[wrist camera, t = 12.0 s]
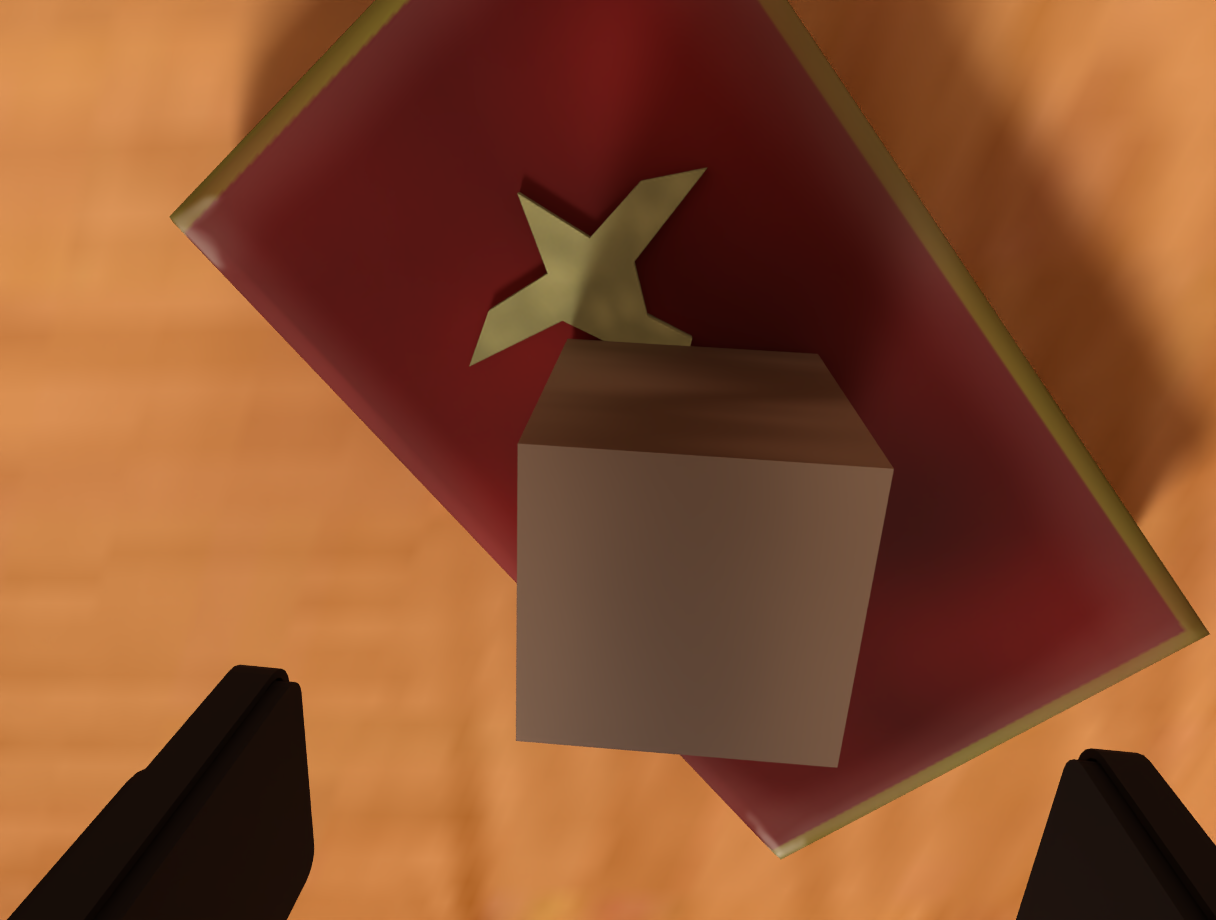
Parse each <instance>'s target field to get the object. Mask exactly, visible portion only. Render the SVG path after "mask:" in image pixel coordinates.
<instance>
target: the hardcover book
mask: <svg viewBox="0 0 1216 920" xmlns="http://www.w3.org/2000/svg"><path fill="white" fill-rule="evenodd" d="M170 218H171V220H172V221H173V223H174V224H175V225H176V226H177V227H178V228H179V229H180V230H181V231H182V232H183V233H184V234H185V235H186V236H187V237H188V238H189V239H190V240H191V241H192V243H193V244H194V245H195V246H196V247H197V248H198V249H199V250H200V251H201V252H202V253H203V254H204V255H205V256H206V257H207V258H208V259H209V260H210V261H211V263H212V264H213V265H214V266H215V267H216V268H217V269H218V270H219V271H220V272H221V273H222V274H223V275H224V276H225V277H226V278H227V279H228V280H229V281H230V282H231V284H232V285H233V286H234V287H235V288H236V289H237V290H238V291H239V292H240V293H241V294H242V295H243V296H244V297H245V298H246V299H247V300H248V301H249V302H250V303H251V305H252V306H253V307H254V308H255V309H256V310H257V311H258V312H259V313H260V314H261V315H262V316H263V317H264V318H265V319H266V320H267V321H268V322H269V323H270V324H271V326H272V327H273V328H274V329H275V330H276V331H277V332H278V333H279V334H280V335H281V336H282V337H283V338H284V339H285V340H286V341H287V342H288V343H289V344H290V346H291V347H292V348H293V349H294V350H295V351H296V352H297V353H298V354H299V355H300V356H301V357H302V358H303V359H304V360H305V361H306V362H307V363H308V364H309V365H310V367H311V368H312V369H313V370H314V371H315V372H316V373H317V374H318V375H319V376H320V377H321V378H322V379H323V380H324V381H325V382H326V383H327V384H328V385H329V386H330V388H331V389H332V390H333V391H334V392H335V393H336V394H337V395H338V396H339V397H340V398H341V399H342V400H343V401H344V402H345V403H346V404H347V405H348V406H349V408H350V409H351V410H352V411H353V412H354V413H355V414H356V415H357V416H358V417H359V418H360V419H361V420H362V421H363V422H364V423H365V424H366V425H367V426H368V427H369V429H370V430H371V431H372V432H373V433H374V434H375V435H376V436H377V437H378V438H379V439H380V440H381V441H382V442H383V443H384V444H385V445H386V446H387V447H388V448H389V450H390V451H391V452H392V453H393V454H394V455H395V456H396V457H397V458H398V459H399V460H400V461H401V462H402V463H403V464H404V465H405V466H406V467H407V468H408V469H409V471H410V472H411V473H412V474H413V475H414V476H415V477H416V478H417V479H418V480H419V481H420V482H421V483H422V484H423V485H424V486H425V487H426V488H427V489H428V491H429V492H430V493H431V494H432V495H433V496H434V497H435V498H436V499H437V500H438V501H439V502H440V503H441V504H442V505H443V506H444V507H445V508H446V509H447V510H448V512H449V513H450V514H451V515H452V516H453V517H454V518H455V519H456V520H457V521H458V522H459V523H460V524H461V525H462V526H463V527H464V528H465V529H466V530H467V531H468V533H469V534H470V535H471V536H472V537H473V538H474V539H475V540H476V541H477V542H478V543H479V544H480V545H481V546H482V547H483V548H484V549H485V550H486V551H487V553H488V554H489V555H490V556H491V557H492V558H493V559H494V560H495V561H496V562H497V563H498V564H499V565H500V566H501V567H502V568H503V569H504V570H505V571H506V572H507V574H508V575H509V576H510V577H511V578H512V579H513V580H514V581H515V582H516V583H517V480H518V442H519V440H520V438H521V436H522V433H523V431H524V429H525V427H526V425H527V423H528V421H529V419H530V417H531V415H532V412H533V410H534V408H535V406H536V404H537V402H538V400H539V398H540V396H541V394H542V391H543V389H544V387H545V385H546V383H547V381H548V379H549V377H550V375H551V372H552V370H553V368H554V366H555V364H556V362H557V360H558V358H559V356H560V354H561V351H562V349H563V347H564V345H565V343H566V341H567V339H582V340H599V341H614V342H630V343H647V344H663V345H680V346H697V347H713V348H729V349H745V350H762V351H778V352H794V353H811V354H818V355H819V356H820V358H821V359H822V361H823V362H824V364H825V365H826V367H827V369H828V370H829V372H830V373H831V375H832V376H833V378H834V379H835V381H836V382H837V384H838V385H839V387H840V388H841V390H842V391H843V393H844V394H845V396H846V397H847V399H848V400H849V402H850V403H851V405H852V406H853V408H854V409H855V411H856V412H857V414H858V415H859V417H860V418H861V420H862V421H863V423H864V424H865V426H866V427H867V429H868V430H869V432H870V433H871V435H872V437H873V438H874V440H875V441H876V443H877V444H878V446H879V447H880V449H881V450H882V452H883V453H884V455H885V456H886V458H887V459H888V461H889V462H890V464H891V465H892V467H893V468H894V471H893V476H892V481H891V487H890V492H889V497H888V503H887V508H886V513H885V518H884V524H883V529H882V534H881V540H880V545H879V550H878V555H877V561H876V566H875V571H874V577H873V582H872V587H871V592H870V598H869V603H868V608H867V614H866V619H865V624H864V629H863V635H862V640H861V645H860V651H859V656H858V661H857V666H856V672H855V677H854V682H853V688H852V693H851V698H850V703H849V709H848V714H847V719H846V725H845V730H844V735H843V740H842V746H841V751H840V756H839V762H838V767H837V768H836V767H824V766H812V765H800V764H788V763H776V762H764V761H752V760H740V759H728V758H716V757H704V756H692V755H681V756H682V757H683V758H684V760H685V761H686V762H687V763H688V764H689V765H690V766H691V767H692V768H693V769H694V770H695V771H696V772H697V773H698V774H699V775H700V776H701V777H702V778H703V779H704V781H705V782H706V783H707V784H708V785H709V786H710V787H711V788H712V789H713V790H714V791H715V792H716V793H717V794H718V795H719V796H720V797H721V798H722V799H723V800H724V802H725V803H726V804H727V805H728V806H729V807H730V808H731V809H732V810H733V811H734V812H735V813H736V814H737V815H738V816H739V817H740V818H741V819H742V820H743V821H744V823H745V824H746V825H747V826H748V827H749V828H750V829H751V830H752V831H753V832H754V833H755V834H756V835H757V836H758V837H759V838H760V839H761V840H762V841H763V843H764V844H765V845H766V846H767V847H768V848H769V849H770V850H771V851H772V852H773V853H774V854H775V855H777V856H778V857H779V858H780V859H783V858H785V857H786V856H788V855H790V854H792V853H794V852H796V851H798V850H800V849H802V848H804V847H806V846H807V845H809V844H811V843H813V842H815V841H817V840H819V839H821V838H823V837H825V836H826V835H828V834H830V833H832V832H834V831H836V830H838V829H840V828H842V827H844V826H845V825H847V824H849V823H851V822H853V821H855V820H857V819H859V818H861V817H863V816H865V815H866V814H868V813H870V812H872V811H874V810H876V809H878V808H880V807H882V806H884V805H885V804H887V803H889V802H891V801H893V800H895V799H897V798H899V797H901V796H903V795H905V794H906V793H908V792H910V791H912V790H914V789H916V788H918V787H920V786H922V785H924V784H925V783H927V782H929V781H931V780H933V779H935V778H937V777H939V776H941V775H943V774H944V773H946V772H948V771H950V770H952V769H954V768H956V767H958V766H960V765H962V764H964V763H965V762H967V761H969V760H971V759H973V758H975V757H977V756H979V755H981V754H983V753H984V752H986V751H988V750H990V749H992V748H994V747H996V746H998V745H1000V744H1002V743H1004V742H1005V741H1007V740H1009V739H1011V738H1013V737H1015V736H1017V735H1019V734H1021V733H1023V732H1024V731H1026V730H1028V729H1030V728H1032V727H1034V726H1036V725H1038V724H1040V723H1042V722H1044V721H1045V720H1047V719H1049V718H1051V717H1053V716H1055V715H1057V714H1059V713H1061V712H1063V711H1064V710H1066V709H1068V708H1070V707H1072V706H1074V705H1076V704H1078V703H1080V702H1082V701H1083V700H1085V699H1087V698H1089V697H1091V696H1093V695H1095V694H1097V693H1099V692H1101V691H1103V690H1104V689H1106V688H1108V687H1110V686H1112V685H1114V684H1116V683H1118V682H1120V681H1122V680H1123V679H1125V678H1127V677H1129V676H1131V675H1133V674H1135V673H1137V672H1139V671H1141V670H1143V669H1144V668H1146V667H1148V666H1150V665H1152V664H1154V663H1156V662H1158V661H1160V660H1162V659H1163V658H1165V657H1167V656H1169V655H1171V654H1173V653H1175V652H1177V651H1179V650H1181V649H1182V648H1184V647H1186V646H1188V645H1190V644H1192V643H1194V642H1196V641H1198V640H1200V639H1202V638H1203V637H1205V636H1207V635H1209V632H1208V631H1207V629H1206V628H1205V626H1204V625H1203V623H1202V622H1201V620H1200V619H1199V617H1198V616H1197V614H1196V613H1195V611H1194V610H1193V608H1192V607H1191V605H1190V604H1189V602H1188V601H1187V599H1186V598H1185V596H1184V595H1183V593H1182V592H1181V590H1180V589H1179V587H1178V586H1177V584H1176V583H1175V581H1174V580H1173V578H1172V577H1171V575H1170V574H1169V572H1168V571H1167V569H1166V568H1165V566H1164V565H1163V563H1162V562H1161V560H1160V559H1159V557H1158V556H1157V554H1156V553H1155V551H1154V550H1153V548H1152V547H1151V545H1150V544H1149V542H1148V541H1147V539H1146V538H1145V536H1144V535H1143V533H1142V532H1141V530H1140V529H1139V527H1138V526H1137V524H1136V523H1135V521H1134V520H1133V518H1132V517H1131V515H1130V514H1129V512H1128V511H1127V509H1126V508H1125V506H1124V505H1123V503H1122V502H1121V500H1120V499H1119V497H1118V496H1117V494H1116V493H1115V491H1114V490H1113V488H1112V487H1111V485H1110V484H1109V482H1108V481H1107V479H1106V478H1105V476H1104V475H1103V473H1102V472H1101V470H1100V469H1099V467H1098V466H1097V464H1096V463H1095V461H1094V460H1093V458H1092V457H1091V455H1090V454H1089V452H1088V451H1087V449H1086V448H1085V446H1084V445H1083V443H1082V442H1081V440H1080V439H1079V437H1078V436H1077V434H1076V433H1075V431H1074V430H1073V428H1072V427H1071V425H1070V424H1069V422H1068V421H1067V419H1066V418H1065V416H1064V415H1063V413H1062V412H1061V410H1060V409H1059V407H1058V406H1057V404H1056V403H1055V401H1054V400H1053V398H1052V397H1051V395H1050V394H1049V392H1048V391H1047V389H1046V388H1045V386H1044V385H1043V383H1042V382H1041V380H1040V379H1039V377H1038V376H1037V374H1036V373H1035V371H1034V370H1033V368H1032V367H1031V365H1030V364H1029V362H1028V361H1027V359H1026V358H1025V356H1024V355H1023V353H1022V352H1021V350H1020V349H1019V347H1018V346H1017V344H1016V343H1015V341H1014V340H1013V338H1012V337H1011V335H1010V334H1009V332H1008V331H1007V329H1006V328H1005V326H1004V325H1003V323H1002V322H1001V320H1000V319H999V317H998V316H997V314H996V313H995V311H994V310H993V308H992V307H991V305H990V304H989V302H988V301H987V299H986V298H985V296H984V295H983V293H982V292H981V290H980V289H979V287H978V286H977V284H976V283H975V281H974V280H973V278H972V277H971V275H970V274H969V272H968V271H967V269H966V268H965V266H964V265H963V263H962V262H961V260H960V259H959V257H958V256H957V254H956V253H955V251H954V250H953V248H952V247H951V245H950V244H949V242H948V241H947V239H946V238H945V236H944V235H943V233H942V232H941V230H940V229H939V227H938V226H937V224H936V223H935V221H934V220H933V218H932V217H931V215H930V214H929V212H928V211H927V209H926V208H925V206H924V205H923V203H922V202H921V200H920V199H919V197H918V196H917V194H916V193H915V191H914V190H913V188H912V187H911V185H910V184H909V182H908V181H907V179H906V178H905V176H904V175H903V173H902V172H901V170H900V169H899V167H898V166H897V164H896V163H895V161H894V160H893V158H892V157H891V155H890V154H889V152H888V151H887V149H886V148H885V146H884V145H883V143H882V142H881V140H880V139H879V137H878V136H877V134H876V133H875V131H874V130H873V128H872V127H871V125H870V124H869V122H868V121H867V119H866V118H865V116H864V115H863V113H862V112H861V110H860V109H859V107H858V106H857V104H856V103H855V101H854V100H853V98H852V97H851V95H850V94H849V92H848V91H847V89H846V88H845V86H844V85H843V83H842V82H841V80H840V79H839V77H838V76H837V74H836V73H835V71H834V70H833V68H832V67H831V65H830V64H829V62H828V61H827V59H826V58H825V56H824V55H823V53H822V52H821V50H820V49H819V47H818V46H817V44H816V43H815V41H814V40H813V38H812V37H811V35H810V34H809V32H808V31H807V29H806V28H805V26H804V25H803V23H802V22H801V20H800V19H799V17H798V16H797V14H796V13H795V11H794V10H793V8H792V7H791V5H790V4H789V2H788V1H787V0H375V1H374V2H373V3H372V4H371V5H370V6H369V7H368V8H367V9H366V11H365V12H364V13H363V14H362V15H361V16H360V17H359V18H358V19H357V20H356V21H355V22H354V23H353V24H352V25H351V26H350V27H349V28H348V29H347V31H346V32H345V33H344V34H343V35H342V36H341V37H340V38H339V39H338V40H337V41H336V42H335V43H334V44H333V45H332V46H331V47H330V48H329V49H328V50H327V52H326V53H325V54H324V55H323V56H322V57H321V58H320V59H319V60H318V61H317V62H316V63H315V64H314V65H313V66H312V67H311V68H310V69H309V70H308V72H307V73H306V74H305V75H304V76H303V77H302V78H301V79H300V80H299V81H298V82H297V83H296V84H295V85H294V86H293V87H292V88H291V89H290V90H289V92H288V93H287V94H286V95H285V96H284V97H283V98H282V99H281V100H280V101H279V102H278V103H277V104H276V105H275V106H274V107H273V108H272V109H271V110H270V111H269V113H268V114H267V115H266V116H265V117H264V118H263V119H262V120H261V121H260V122H259V123H258V124H257V125H256V126H255V127H254V128H253V129H252V130H251V131H250V133H249V134H248V135H247V136H246V137H245V138H244V139H243V140H242V141H241V142H240V143H239V144H238V145H237V146H236V147H235V148H234V149H233V150H232V151H231V153H230V154H229V155H228V156H227V157H226V158H225V159H224V160H223V161H222V162H221V163H220V164H219V165H218V166H217V167H216V168H215V169H214V170H213V171H212V172H211V174H210V175H209V176H208V177H207V178H206V179H205V180H204V181H203V182H202V183H201V184H200V185H199V186H198V187H197V188H196V189H195V190H194V191H193V192H192V194H191V195H190V196H189V197H188V198H187V199H186V200H185V201H184V202H183V203H182V204H181V205H180V206H179V207H178V208H177V209H176V210H175V211H174V212H173V214H172V215H171V216H170Z"/></svg>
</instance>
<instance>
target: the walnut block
mask: <svg viewBox="0 0 1216 920" xmlns="http://www.w3.org/2000/svg"><path fill="white" fill-rule="evenodd" d="M893 471H894V468H893V467H892V465H891V464H890V462H889V461H888V459H887V458H886V456H885V455H884V453H883V452H882V450H881V449H880V447H879V446H878V444H877V443H876V441H875V440H874V438H873V437H872V435H871V433H870V432H869V430H868V429H867V427H866V426H865V424H864V423H863V421H862V420H861V418H860V417H859V415H858V414H857V412H856V411H855V409H854V408H853V406H852V405H851V403H850V402H849V400H848V399H847V397H846V396H845V394H844V393H843V391H842V390H841V388H840V387H839V385H838V384H837V382H836V381H835V379H834V378H833V376H832V375H831V373H830V372H829V370H828V369H827V367H826V365H825V364H824V362H823V361H822V359H821V358H820V356H819V355H818V354H811V353H794V352H778V351H762V350H745V349H729V348H713V347H697V346H680V345H663V344H647V343H630V342H614V341H599V340H582V339H567V341H566V343H565V345H564V347H563V349H562V351H561V354H560V356H559V358H558V360H557V362H556V364H555V366H554V368H553V370H552V372H551V375H550V377H549V379H548V381H547V383H546V385H545V387H544V389H543V391H542V394H541V396H540V398H539V400H538V402H537V404H536V406H535V408H534V410H533V412H532V415H531V417H530V419H529V421H528V423H527V425H526V427H525V429H524V431H523V433H522V436H521V438H520V440H519V442H518V480H517V659H516V741H524V742H536V743H548V744H560V745H572V746H584V747H596V748H608V749H620V750H632V751H644V752H656V753H668V754H680V755H692V756H704V757H716V758H728V759H740V760H752V761H764V762H776V763H788V764H800V765H812V766H824V767H836V768H837V767H838V762H839V756H840V751H841V746H842V740H843V735H844V730H845V725H846V719H847V714H848V709H849V703H850V698H851V693H852V688H853V682H854V677H855V672H856V666H857V661H858V656H859V651H860V645H861V640H862V635H863V629H864V624H865V619H866V614H867V608H868V603H869V598H870V592H871V587H872V582H873V577H874V571H875V566H876V561H877V555H878V550H879V545H880V540H881V534H882V529H883V524H884V518H885V513H886V508H887V503H888V497H889V492H890V487H891V481H892V476H893Z"/></svg>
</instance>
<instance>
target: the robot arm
mask: <svg viewBox="0 0 1216 920" xmlns="http://www.w3.org/2000/svg"><path fill="white" fill-rule="evenodd" d="M313 856H314V838H313V826H312V814H311V801H310V789H309V777H308V765H307V753H306V741H305V729H304V717H303V705H302V693H301V688H300V686H299V684H298V683H296V682H289V678H288V675H287V673H286V671H285V670H283V669H278V668H268V667H258V666H248V665H237V666H234V667H233V668H232V669H231V670H230V671H229V672H228V673H227V674H226V675H225V677H224V678H223V679H222V680H221V681H220V682H219V684H218V685H217V686H216V687H215V688H214V689H213V691H212V692H211V693H210V694H209V695H208V696H207V698H206V699H205V700H204V701H203V702H202V703H201V705H200V706H199V707H198V708H197V709H196V710H195V712H194V713H193V714H192V715H191V716H190V717H189V719H188V720H187V721H186V722H185V723H184V724H183V726H182V727H181V728H180V729H179V730H178V731H177V733H176V734H175V735H174V736H173V737H172V738H171V740H170V741H169V742H168V743H167V744H166V745H165V747H164V748H163V749H162V750H161V751H160V752H159V754H158V755H157V756H156V757H155V758H154V759H153V761H152V762H151V763H150V764H149V765H148V766H147V768H146V769H144V770H141V771H139V772H137V773H136V774H135V775H134V776H133V777H132V778H131V779H129V780H128V781H127V782H126V783H125V785H124V786H123V787H122V788H121V789H120V790H119V791H118V793H117V794H116V795H115V796H114V797H113V798H112V800H111V801H110V802H109V803H108V804H107V805H106V806H105V808H104V809H103V810H102V811H101V812H100V813H99V814H98V816H97V817H96V818H95V819H94V820H93V821H92V823H91V824H90V825H89V826H88V827H87V828H86V829H85V831H84V832H83V833H82V834H81V835H80V836H79V837H78V839H77V840H76V841H75V842H74V843H73V844H72V846H71V847H70V848H69V849H68V850H67V851H66V852H65V854H64V855H63V856H62V857H61V858H60V859H59V861H58V862H57V863H56V864H55V865H54V866H53V867H52V869H51V870H50V871H49V872H48V873H47V874H46V875H45V877H44V878H43V879H42V880H41V881H40V882H39V884H38V885H37V886H36V887H35V888H34V889H33V890H32V892H31V893H30V894H29V895H28V896H27V897H26V898H25V900H24V901H23V902H22V903H21V904H20V905H19V907H18V908H17V909H16V910H15V911H14V912H13V913H12V915H11V916H10V917H9V918H8V919H7V920H287V918H288V916H289V914H290V912H291V910H292V908H293V906H294V904H295V902H296V900H297V898H298V896H299V894H300V892H301V891H302V889H303V887H304V885H305V883H306V880H307V878H308V876H309V873H310V870H311V867H312V862H313ZM1016 920H1216V846H1215V844H1214V843H1213V842H1212V840H1211V839H1210V838H1209V837H1208V835H1207V834H1206V833H1205V831H1204V830H1203V829H1202V828H1201V826H1200V825H1199V824H1198V822H1197V821H1196V820H1195V819H1194V817H1193V816H1192V815H1191V813H1190V812H1189V811H1188V810H1187V808H1186V807H1185V806H1184V804H1183V803H1182V802H1181V801H1180V799H1179V798H1178V797H1177V795H1176V794H1175V793H1174V792H1173V790H1172V789H1171V788H1170V786H1169V785H1168V784H1167V782H1166V781H1165V780H1164V779H1163V777H1162V776H1161V775H1160V773H1159V772H1158V771H1157V770H1156V768H1155V767H1154V766H1153V764H1152V763H1151V762H1150V761H1149V760H1148V759H1147V758H1146V757H1145V756H1144V755H1141V754H1139V753H1132V752H1122V751H1112V750H1102V749H1092V748H1091V749H1086V750H1085V751H1084V752H1083V753H1081V755H1080V757H1079V759H1078V760H1075V759H1074V760H1069V761H1068V762H1067V763H1066V765H1065V767H1064V770H1063V773H1062V776H1061V779H1060V782H1059V785H1058V789H1057V792H1056V795H1055V798H1054V801H1053V804H1052V808H1051V811H1050V814H1049V817H1048V820H1047V823H1046V827H1045V830H1044V833H1043V836H1042V839H1041V842H1040V845H1039V849H1038V852H1037V855H1036V858H1035V861H1034V864H1033V868H1032V871H1031V874H1030V877H1029V880H1028V883H1027V887H1026V890H1025V893H1024V896H1023V899H1022V902H1021V905H1020V909H1019V912H1018V915H1017V918H1016Z"/></svg>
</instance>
